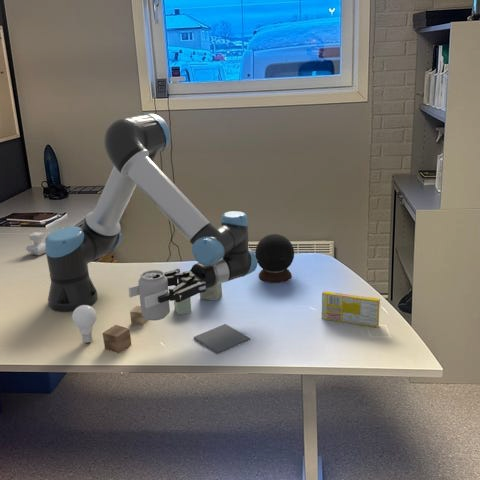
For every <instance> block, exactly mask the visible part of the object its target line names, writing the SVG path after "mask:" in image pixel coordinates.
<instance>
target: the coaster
mask: <svg viewBox="0 0 480 480" xmlns="http://www.w3.org/2000/svg"><path fill="white" fill-rule="evenodd" d="M193 340H195V341H196V342H198V343H200V344H201V345H203V346H204V347H206V348H207V349H209V350H211V351H213V352H214V353H215V354H217V355H219V354H222V353H223V352H226V351H228V350H230V349H233V348H235V347H238V346H239V344H240V345H242V344H244V343H246V342H248V340H249V341H250V340H251V337H249V336H247V335H246V334H245V333H242V332H240V331H239V330H237V329H236V328H233V327H232V326H230V325H229V324H227V323H224V324H221V325H219V326H217V327H215V328H212V329H209V330H207V331H205V332H202V333H199V334H197V335H195V336H193Z"/></svg>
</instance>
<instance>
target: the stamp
mask: <svg viewBox="0 0 480 480" xmlns="http://www.w3.org/2000/svg"><path fill="white" fill-rule="evenodd" d="M28 237H29V240H30V241H33V243H31V244H29V245H27V246H26V247H25V249H26V251H27V252H28V253H30V255H34V256H41V255H43V254H46V252H45V247H46V246H45V242H43V241H41V240H43V239H44V237H45V232H37V231H35V232H32V233H31V234H29V235H28Z"/></svg>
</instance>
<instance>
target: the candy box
mask: <svg viewBox="0 0 480 480" xmlns="http://www.w3.org/2000/svg"><path fill="white" fill-rule="evenodd" d="M380 302H381V299H380V298H378V297H370V296H362V295H354V294H349V293H348V294H347V293H341V292H332V291H325V290H323V291H322V293H321V319H322V320H326V319H327V321H334V322H339V321H340V322H339V323H346V324H347V323H348V324H353V325H357V326H358V325H360V326H364V327H371V328H376V327H377V329H378V328H379V325H380V308H381V307H380V306H381V305H380V304H381V303H380Z"/></svg>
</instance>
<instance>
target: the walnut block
mask: <svg viewBox="0 0 480 480" xmlns="http://www.w3.org/2000/svg"><path fill="white" fill-rule="evenodd" d="M102 338H103V345H104V349H105V350H108V351H110V352H114V353H116V354H120V353H122V352H123V351H125V350H126V349H128V348H129V347H131V346H132V339H131V330H130V328H129V327H124V326H122V325H118V324H114V325H113V326H111V327H110V328H108V329H106V330H104V331H103V332H102Z"/></svg>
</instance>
